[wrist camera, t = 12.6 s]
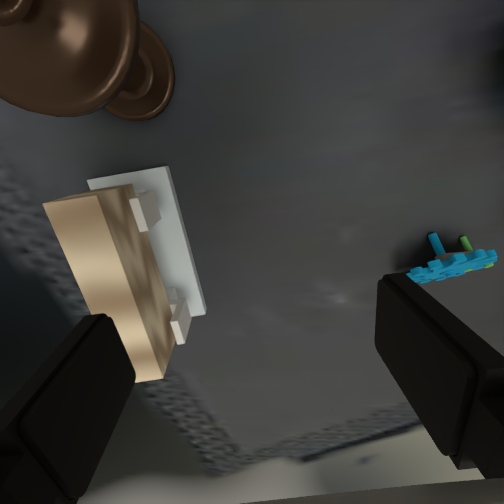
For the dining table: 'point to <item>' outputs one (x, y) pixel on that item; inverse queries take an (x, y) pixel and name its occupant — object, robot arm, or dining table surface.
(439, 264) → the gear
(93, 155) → the dining table surface
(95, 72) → the candlestick
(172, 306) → the cradle
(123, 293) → the rail
